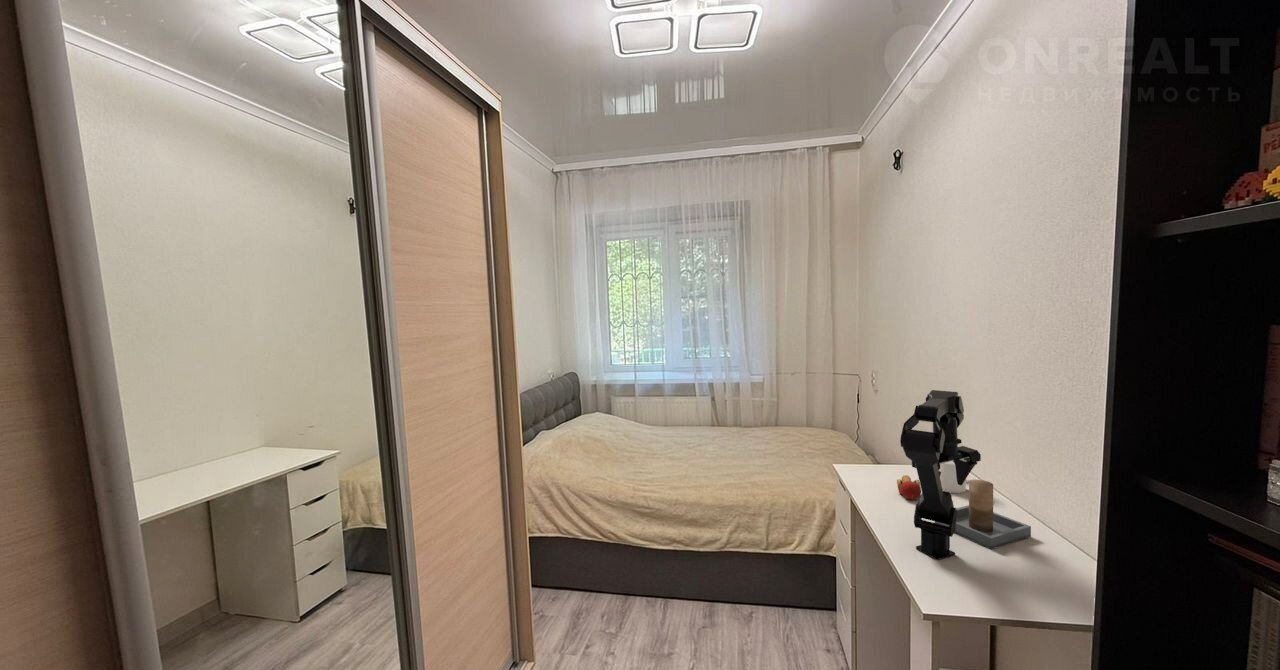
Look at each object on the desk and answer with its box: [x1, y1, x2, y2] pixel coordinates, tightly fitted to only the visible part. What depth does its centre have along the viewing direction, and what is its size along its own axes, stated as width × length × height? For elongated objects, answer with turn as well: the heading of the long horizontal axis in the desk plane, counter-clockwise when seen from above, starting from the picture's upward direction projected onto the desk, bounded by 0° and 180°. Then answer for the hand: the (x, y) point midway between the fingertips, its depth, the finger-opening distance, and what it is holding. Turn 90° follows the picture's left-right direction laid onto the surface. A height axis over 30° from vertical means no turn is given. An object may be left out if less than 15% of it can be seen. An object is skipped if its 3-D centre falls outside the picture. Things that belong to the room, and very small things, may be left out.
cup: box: [939, 461, 967, 494], centre depth 163 cm, size 8×12×10 cm
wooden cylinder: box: [968, 478, 994, 532], centre depth 133 cm, size 6×6×13 cm
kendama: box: [896, 475, 922, 501], centre depth 162 cm, size 8×6×18 cm
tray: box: [934, 504, 1032, 550], centre depth 133 cm, size 16×16×3 cm
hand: (947, 488), depth 132 cm, fingers open, 9 cm apart
